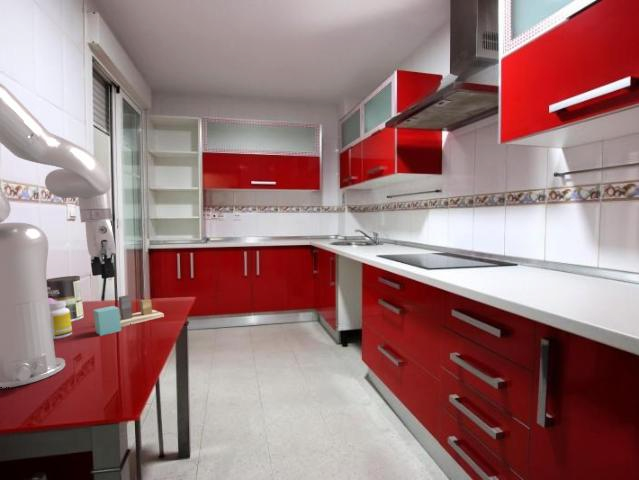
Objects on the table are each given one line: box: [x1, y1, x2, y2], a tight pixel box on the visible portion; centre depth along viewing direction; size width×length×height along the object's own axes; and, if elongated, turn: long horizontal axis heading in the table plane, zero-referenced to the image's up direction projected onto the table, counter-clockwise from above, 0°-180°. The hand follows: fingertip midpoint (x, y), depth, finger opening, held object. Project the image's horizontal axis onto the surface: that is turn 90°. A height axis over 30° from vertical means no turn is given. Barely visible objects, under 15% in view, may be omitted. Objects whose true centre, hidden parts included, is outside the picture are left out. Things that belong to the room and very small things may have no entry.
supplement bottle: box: [49, 301, 73, 340], centre depth 101 cm, size 5×5×10 cm
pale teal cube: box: [93, 305, 122, 337], centre depth 102 cm, size 5×5×7 cm
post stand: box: [118, 294, 165, 328], centre depth 114 cm, size 10×13×8 cm
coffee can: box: [46, 275, 85, 323], centre depth 120 cm, size 10×10×14 cm
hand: (103, 276), depth 102 cm, fingers open, 9 cm apart
